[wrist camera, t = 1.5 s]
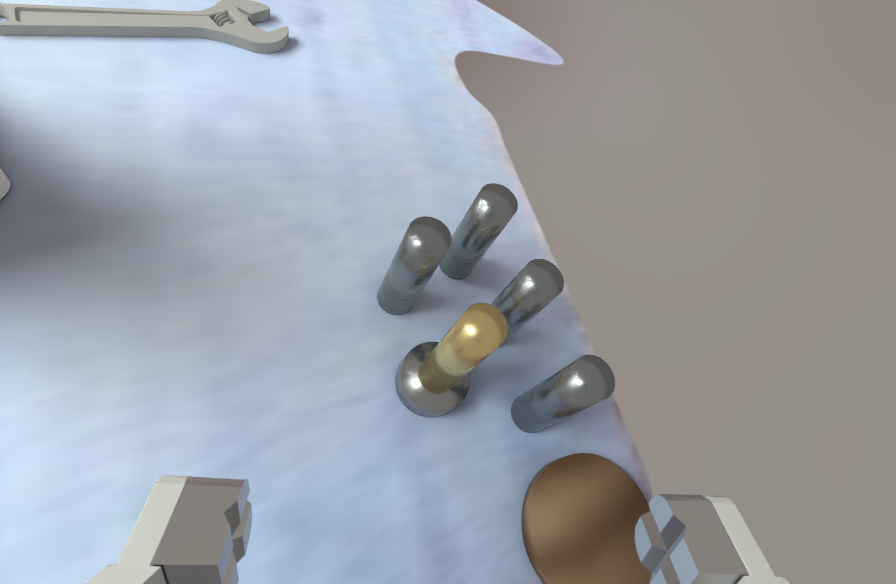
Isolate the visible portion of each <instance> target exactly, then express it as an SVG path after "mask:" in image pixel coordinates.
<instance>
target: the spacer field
mask: <svg viewBox="0 0 896 584" xmlns="http://www.w3.org/2000/svg"><path fill="white" fill-rule="evenodd" d="M517 208H518V203H517V200H516V198H515V196H514V194H513V193H512V192H511V191H510V190H509V189H507V188H506V187H504V186H502V185H499V184H487V185H485V186H484V187H483V188H482V189H481V191H480V192H479V194H478V195H477V197H476V199H475V200H474V202H473V203H472V205H471V207H470V208H469V210H468V212H467V213H466V215H465V216H464V218H463V220H462V221H461V223H460V224H459V226H458V228H457V229H456V231H455V232H454V234H453V236H452V237H451V234H450V231H449V230H448V228H447V227H446V226H445V225H444V224H443V223H442V222H441V221H439V220H437V219H435V218H432V217H419V218H417V219H415V220H414V221H412V223H411V224H410V226H409V228H408V230H407V232H406V234H405V236H404V238H403V240H402V242H401V244H400V246H399V249H398V251H397V253H396V255H395V257H394V259H393V261H392V263H391V265H390V267H389V269H388V272H387V274H386V276H385V278H384V280H383V282H382V284H381V286H380V288H379V290H378V294H377V299H378V302H379V305H380V306H381V307H382V309H384V310H385V311H386V312H388V313H390V314H393V315H402V314H405V313H407V312H408V311H409V310H410V309H411V308H412V306H413V304H414V303H415V301H416V300H417V298H418V297H419V295H420V293H421V292H422V290H423V289H424V287H425V286H426V284H427V282H428V281H429V279H430V278H431V276H432V275H433V273H434V271H435V270H436V268H437V267H438V265H440V268H441V270H442V271H443V272H444V273H445V274H446V275H447V276H449V277H451V278H454V279H463V278H465V277H467V276H468V275H469V273H470V272H471V271H472V269H473V268H474V267H475V265H476V264H477V263H478V262H479V260H480V259H481V258H482V256H483V255H484V254H485V252H486V251H487V250H488V248H489V247H490V246H491V244H492V243H493V242H494V240H495V239H496V238H497V236H498V235H499V234H500V232H501V231H502V230H503V228H504V227H505V226H506V224H507V223H508V222H509V221H510V219H511V218H512V217H513V215H514V214H515V213H516V211H517ZM563 287H564V280H563V276H562V274H561V272H560V271H559V269H558V268H557V267H556V266H555V265H554V264H552V263H551V262H549V261H547V260H544V259H534V260H532V261H530V262H529V263H528V264H527V265H526V266H525V267H524V268H523V269H522V271H521V272H520V273H519V274H518V275H517V276H516V277H515V278H514V279H513V280H512V281H511V282H510V284H509V285H508V286H507V287H506V288H505V289H504V290H503V291H502V292H501V293H500V294H499V295H498V297H497V298H496V299H495V300H494V301H493V302H492V303H491V304H490V305H492V306H494V307H496V308H497V309H498V310H500V312H501V313H502V314H503V315H504V317H505V319H506V321H507V324H508V334H507V337H506V339H505V340H504V342H505V341H507V340H508V339H509V338H510V337H511V336H512V335H513V334H515V333H516V332H517V331H518V330H519V329H520V328H521V327H522V326H524V325H525V324H526V323H527V322H528V321H529V320H530V319H532V318H533V317H534V316H535V315H536V314H537V313H538V312H539V311H541V310H542V309H543V308H544V307H545V306H546V305H547V304H549V303H550V302H551V301H552V300H553V299H554V298H555V297H556V296H558V295H559V294H560V293H561V292H562V290H563ZM504 342H503V343H504ZM503 343H501V344H500V345H502V344H503ZM500 345H499V346H500ZM614 387H615V379H614V375H613V372H612V370H611V369H610V367H609V366H608V364H607V363H606V362H605V361H604V360H602V359H601V358H599V357H597V356H594V355H585V356H582V357H580V358H579V359H577V360H576V361H574V362H573V363H571V364H570V365H568V366H566V367H565V368H563V369H562V370H560V371H559V372H557V373H555V374H554V375H552V376H551V377H549V378H548V379H546V380H544V381H543V382H541V383H540V384H538V385H537V386H535V387H533V388H532V389H530V390H529V391H527V392H526V393H524V394H523V395H521V396H519V397H518V398H517V399H515V401H514V402H513V404H512V408H511V414H512V418H513V421H514V423H515V424H516V425H517V426H518V427H519V428H520V429H521V430H523V431H524V432H528V433H535V432H537V431H540V430H542V429H544V428H546V427H548V426H550V425H552V424H554V423H556V422H558V421H560V420H562V419H564V418H567V417H569V416H571V415H573V414H575V413H577V412H579V411H581V410H583V409H585V408H587V407H589V406H592V405H594V404H596V403H598V402H600V401H602V400H604V399H606V398H608V397H609V396H610V395H611V394H612V393H613V391H614Z"/></svg>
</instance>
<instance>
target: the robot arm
mask: <svg viewBox="0 0 896 584" xmlns="http://www.w3.org/2000/svg"><path fill="white" fill-rule="evenodd" d="M9 189H10V181H9V179H8V177H7V176H6V175H5V174H4V172H3V171H2V170H1V169H0V199H1V198H3V197H4V196H5V195H6V193H7V192H8V191H9ZM249 490H250V489H249V483H248V479H228V478H206V477H192V476H164V475H161V477H160V478H159V479H158V480H157V482H156V483H155V484H154V486H153V488H152V490H151V492H150V494H149V496H148V499H147V501H146V503H145V505H144V507H143V509H142V512H141V514H140V516H139V518H138V520H137V522H136V525H135V527H134V529H133V531H132V533H131V535H130V538H129V540H128V542H127V544H126V546H125V548H124V551H123V553H122V555H121V557H120V559H119V561H118V564H117V565H107V566H106V567H105V568H104V569H103V570H101V571H100V572H99V573H98V574H97V575H96V576H94V577H93V578H92V579H91V580H90V581H89V582H87V583H86V584H237V583H238V580H239V579H238V572H237V565H236V563H237V562H238V561H239V560H240V559H241V558H242V557H243V556H244V555H245V553H246V549H247V545H248V541H249V536H250V530H251V524H252V506H251V503H249V502H248V501H247V498H248V494H249ZM649 507H650V509H651V511H649V512H647V513H646V514H644V515H642V516H641V517H640V519H639V520H638V522H637V524H636V527H635V544H636V550H637V553H638V556H639V559H640V562H641V563H642V564H643V565H644V566H645V567H646V568H647V569H648V570H649V571H650V572H651V573H652V576H651V579H650V583H649V584H790V583H789V582H788V581H787V580H785V579H784V578H783V577H781V576H775V575H774V573H773V571H772V569H771V568H770V566H769V564H768V562H767V561H766V559H765V557H764V555H763V553H762V552H761V550H760V548H759V546H758V544H757V543H756V541H755V539H754V537H753V536H752V534H751V532H750V530H749V528H748V527H747V525H746V523H745V521H744V520H743V518H742V516H741V514H740V513H739V511H738V509H737V507H736V505H735V504H734V502H732V501H731V500H730V499H729V498H728V497H723V496H701V495H670V494H666V495H665V494H658V495H656V496H653V497H652V499H651V501H650V502H649Z"/></svg>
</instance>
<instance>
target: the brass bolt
mask: <svg viewBox="0 0 896 584" xmlns="http://www.w3.org/2000/svg"><path fill="white" fill-rule="evenodd" d="M507 334H508V324H507V321H506V319H505V317H504V315H503V314H502V313H501V312H500V310H498V309H497V308H496V307H494V306H492V305H490V304H487V303H477V304H474V305H472V306H470V307H469V308H468V309H467V310H466V312H465V313H464V314H463V315H462V316H461V318H460V319H459V320H458V321H457V322H456V323H455V325H454V326H453V327H452V328H451V329H450V330H449V332H448V333H447V334H446V335H445V336H444V337H443V339H442V340H441V341H440V342H426V343H422V344H420V345H418V346H416V347H414V348H413V349H412V350H411V351H410V352H409V353H408V354H407V356H406V357H405V358H404V360H403V361H402V362H401V364H400V365H399V367H398V370H397V373H396V379H395V383H396V390H397V393H398V395H399V397H400V399H401V401H402V402H403V404H404V405H405V406H406V407H407V408H408V409H409V410H411V411H412V412H414V413H416V414H418V415H420V416H424V417H439V416H442V415H444V414H446V413H448V412H449V411H451V410H452V409H453V408H454V407H456V406H457V405H458V404H459V403H460V402H462V400H463V399H464V398H465V396H466V394H467V392H468V389H469V385H470V375H469V372H470V371H471V370H472V369H473V368H474V367H476V366H477V365H478V364H479V363H480V362H481V361H482V360H483V359H485V358H486V357H487V356H488V355H489V354H490V353H491V352H492V351H494V350H495V349H496V348H497V347H498V346H499V345H500V344H501V343H503V342H504V340H505V339H506V337H507Z"/></svg>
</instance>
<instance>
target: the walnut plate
mask: <svg viewBox="0 0 896 584" xmlns="http://www.w3.org/2000/svg"><path fill="white" fill-rule="evenodd" d="M649 511H650V509H649V506H648V504H647V502H646V500H645V498H644V496H643V494H642V492H641V491H640V489H639V487H638V486H637V485H636V483H635V482H634V481H633V480H632V478H631V477H630V476H629V475H628V474H627V473H626V472H625V471H624V470H622V469H621V468H620V467H619V466H617V465H616V464H614V463H613V462H611V461H609V460H607V459H606V458H603V457H600V456H597V455H593V454H586V453H580V454H573V455H569V456H566V457H563V458H560V459H557V460H555V461H553V462H551V463H549V464H548V465H546V466H545V467H544V468H543V469H541V470H540V471H539V472H538V474H537V475H536V476H535V477H534V479H533V480H532V482H531V484H530V485H529V488H528V490H527V492H526V495H525V499H524V503H523V509H522V534H523V540H524V545H525V548H526V552H527V555H528V557H529V560H530V562H531V564H532V566H533V568H534V570H535V572H536V573H537V575H538V576H539V578H540V579H541V581H542V582H543V583H544V584H648V582H649V580H650V578H651V575H652V573H651V572H650V571H649V570H648V569H647V568H646V567H645V566H644V565H643V564H642V563H641V562H640V559H639V556H638V553H637V550H636V544H635V527H636V524H637V522H638V520H639V519H640V517H641V516H642V515H644V514H646V513H647V512H649Z"/></svg>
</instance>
